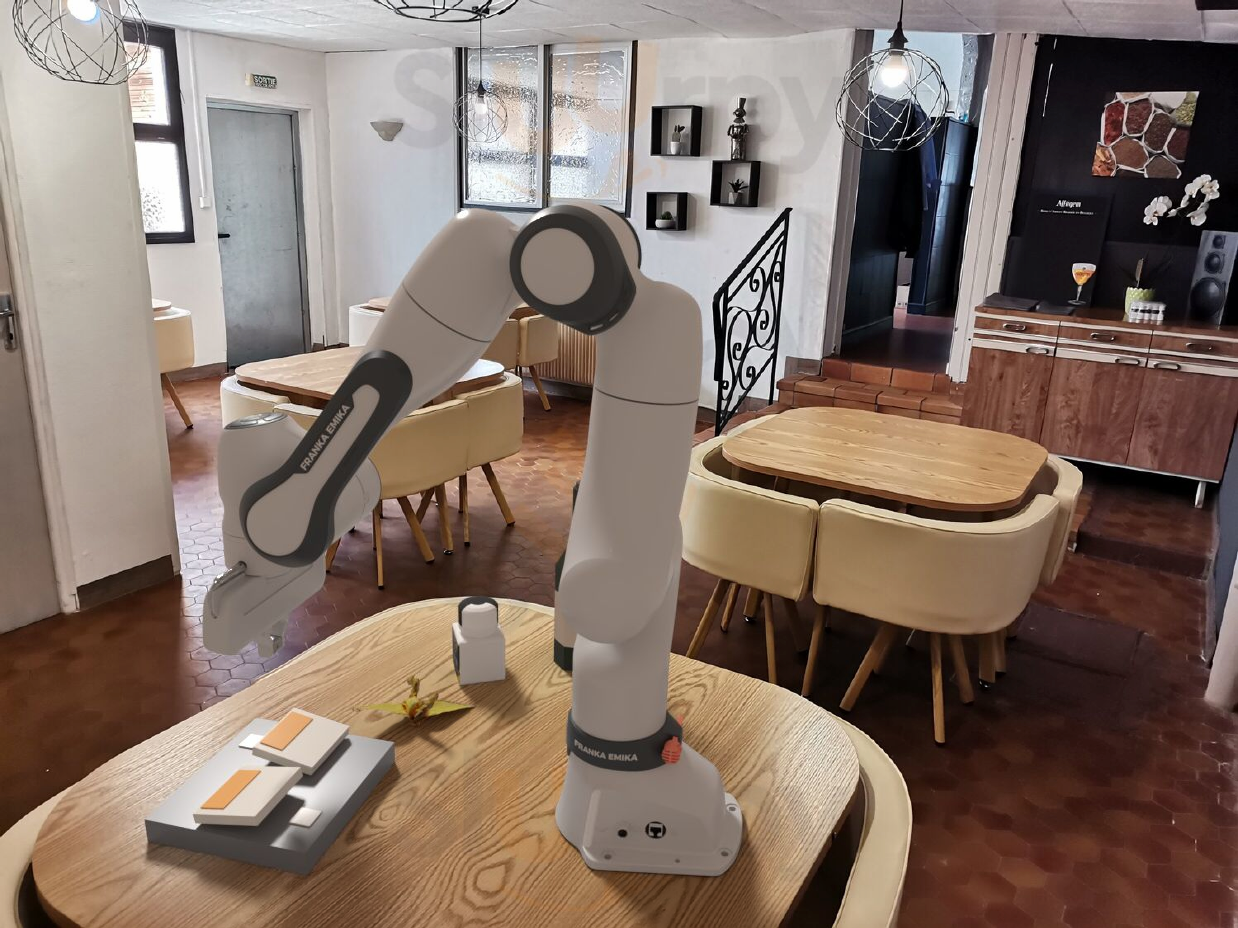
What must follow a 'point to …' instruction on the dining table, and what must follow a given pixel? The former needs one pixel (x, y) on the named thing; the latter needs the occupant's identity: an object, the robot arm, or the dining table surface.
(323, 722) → the right rocker
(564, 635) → the wine bottle
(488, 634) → the medicine bottle
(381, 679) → the dining table surface
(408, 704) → the origami crane
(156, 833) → the switch panel
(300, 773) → the left rocker
